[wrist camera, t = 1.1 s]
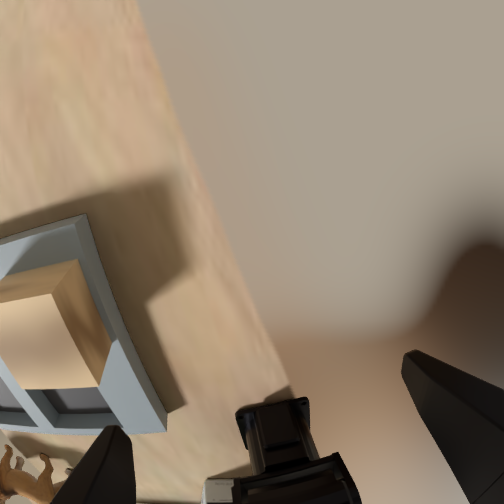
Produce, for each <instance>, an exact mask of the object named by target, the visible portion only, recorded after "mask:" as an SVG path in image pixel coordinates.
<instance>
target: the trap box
mask: <svg viewBox="0 0 504 504" xmlns="http://www.w3.org/2000/svg"><path fill="white" fill-rule="evenodd" d="M74 259H78V261H79V264H80V266H81V269H82V272H83V275H84V277H85V280H86V282H87V285H88V288H89V290H90V293H91V295H92V298H93V300H94V303H95V305H96V307H97V310H98V312H99V314H100V317H101V319H102V321H103V324H104V326H105V328H106V330H107V333H108V335H109V337H110V339H111V341H112V345H111V349H110V352H109V355H108V358H107V361H106V365H105V368H104V371H103V375H102V378H101V382H100V385H99V387H86V388H66V389H21V387H20V386H19V384H18V383H17V381H16V380H15V378H14V377H13V375H12V374H11V372H10V371H9V369H8V368H7V366H6V365H5V363H4V361H3V360H2V358H1V357H0V429H4V430H12V431H21V432H31V433H44V434H61V435H99V434H100V433H101V432H102V430H103V429H104V428H105V427H106V426H107V425H119V426H120V427H121V428H122V429H123V431H124V432H125V433H126V434H127V435H128V434H146V433H159V432H167V412H166V411H165V409H164V407H163V405H162V403H161V401H160V399H159V397H158V395H157V393H156V391H155V389H154V387H153V385H152V383H151V381H150V379H149V377H148V375H147V373H146V371H145V369H144V367H143V365H142V363H141V361H140V358H139V356H138V354H137V352H136V350H135V347H134V345H133V343H132V341H131V338H130V336H129V334H128V331H127V329H126V327H125V324H124V322H123V319H122V317H121V314H120V312H119V309H118V307H117V304H116V302H115V299H114V297H113V294H112V291H111V289H110V286H109V283H108V280H107V278H106V275H105V272H104V269H103V266H102V263H101V260H100V257H99V254H98V251H97V248H96V245H95V242H94V239H93V235H92V232H91V229H90V226H89V222H88V219H87V215H86V214H82V215H78V216H75V217H71V218H68V219H64V220H60V221H57V222H54V223H50V224H47V225H43V226H40V227H37V228H33V229H30V230H27V231H24V232H20V233H17V234H14V235H11V236H8V237H5V238H2V239H0V280H1V279H2V278H3V277H4V276H7V275H11V274H15V273H19V272H23V271H27V270H31V269H36V268H40V267H44V266H48V265H53V264H57V263H61V262H65V261H70V260H74Z"/></svg>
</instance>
